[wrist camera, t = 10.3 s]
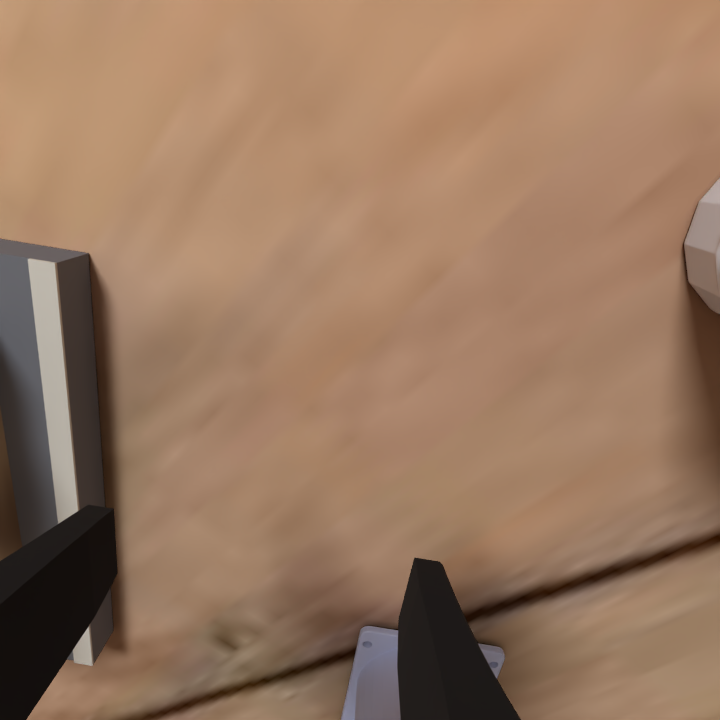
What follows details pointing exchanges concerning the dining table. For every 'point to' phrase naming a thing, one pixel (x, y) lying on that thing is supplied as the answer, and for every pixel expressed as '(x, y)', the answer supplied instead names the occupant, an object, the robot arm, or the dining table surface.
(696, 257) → the white cup
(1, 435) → the brown notched bar
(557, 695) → the dining table surface
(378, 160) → the dining table surface
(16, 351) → the dock
